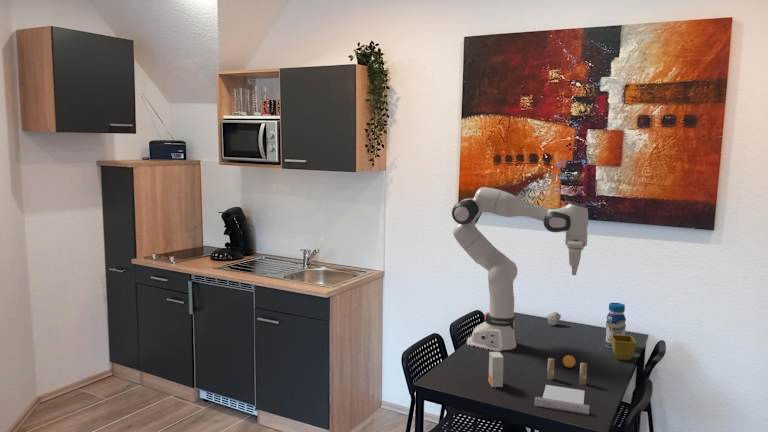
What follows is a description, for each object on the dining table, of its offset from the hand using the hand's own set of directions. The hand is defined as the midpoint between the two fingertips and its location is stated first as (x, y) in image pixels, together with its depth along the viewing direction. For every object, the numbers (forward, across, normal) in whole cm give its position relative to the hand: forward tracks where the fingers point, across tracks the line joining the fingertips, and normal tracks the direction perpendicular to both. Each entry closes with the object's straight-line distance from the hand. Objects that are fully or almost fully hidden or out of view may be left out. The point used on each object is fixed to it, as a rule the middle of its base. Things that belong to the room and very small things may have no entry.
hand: (574, 272), depth 245 cm
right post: (+37, +30, +6) cm, 48 cm away
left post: (+37, +30, -6) cm, 48 cm away
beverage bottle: (+37, -21, +18) cm, 47 cm away
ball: (+35, +14, 0) cm, 37 cm away
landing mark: (+37, +44, 0) cm, 57 cm away
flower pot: (+37, -6, +21) cm, 43 cm away
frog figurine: (+37, -44, -11) cm, 59 cm away
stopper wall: (+37, +56, 0) cm, 67 cm away
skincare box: (+37, +44, -25) cm, 63 cm away
